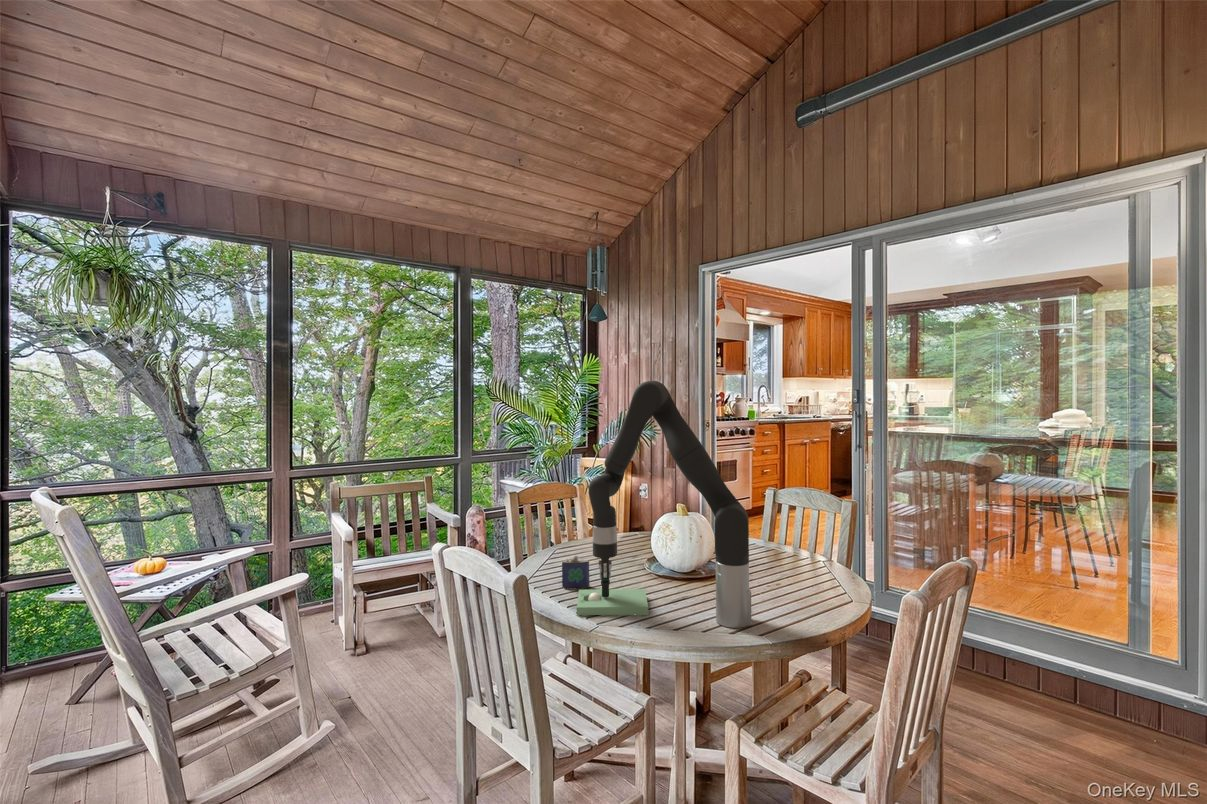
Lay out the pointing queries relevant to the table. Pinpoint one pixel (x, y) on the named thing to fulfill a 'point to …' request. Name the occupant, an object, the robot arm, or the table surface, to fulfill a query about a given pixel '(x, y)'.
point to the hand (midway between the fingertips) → (605, 596)
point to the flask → (575, 573)
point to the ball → (594, 597)
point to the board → (613, 602)
